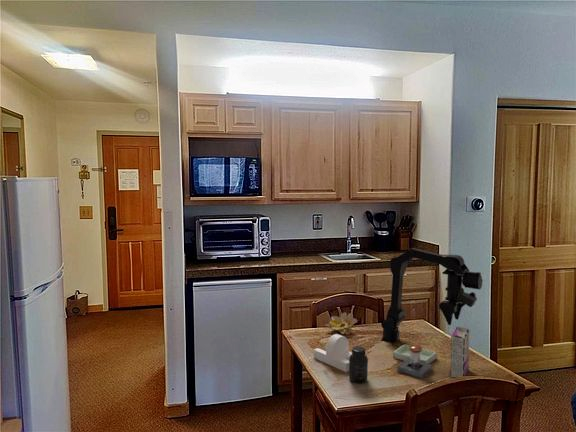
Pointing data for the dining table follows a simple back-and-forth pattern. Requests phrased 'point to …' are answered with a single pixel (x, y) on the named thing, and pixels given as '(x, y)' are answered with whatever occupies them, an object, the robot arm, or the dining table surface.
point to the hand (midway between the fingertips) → (453, 322)
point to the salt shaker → (415, 356)
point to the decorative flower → (342, 323)
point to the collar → (417, 373)
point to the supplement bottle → (358, 365)
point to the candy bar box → (459, 352)
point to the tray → (404, 352)
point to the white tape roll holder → (335, 352)
